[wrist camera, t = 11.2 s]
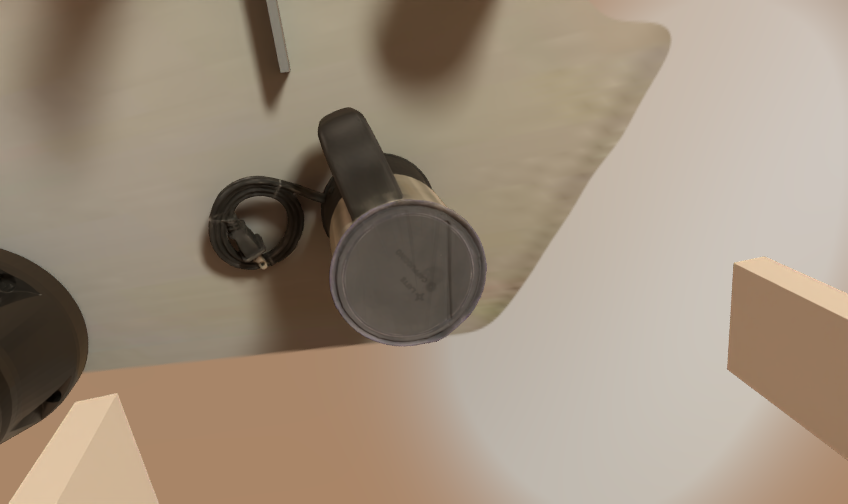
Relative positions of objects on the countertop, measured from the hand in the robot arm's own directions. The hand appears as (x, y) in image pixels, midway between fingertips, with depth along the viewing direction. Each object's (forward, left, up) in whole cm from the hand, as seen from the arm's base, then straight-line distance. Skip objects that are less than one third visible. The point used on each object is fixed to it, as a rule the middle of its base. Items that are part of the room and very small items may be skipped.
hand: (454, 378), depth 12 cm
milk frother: (-2, -6, -35) cm, 36 cm away
